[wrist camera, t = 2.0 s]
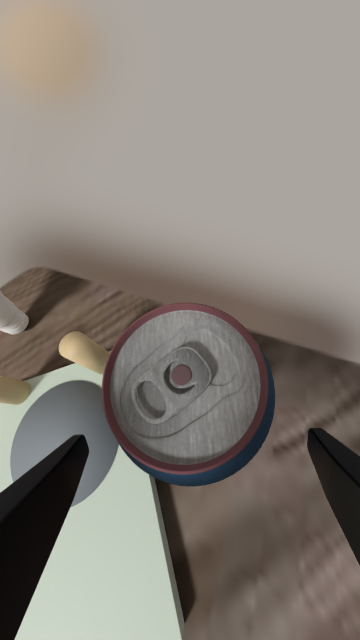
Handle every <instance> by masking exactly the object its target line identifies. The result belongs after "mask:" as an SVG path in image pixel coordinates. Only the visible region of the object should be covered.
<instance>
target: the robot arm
mask: <svg viewBox="0 0 360 640" xmlns="http://www.w3.org/2000/svg"><path fill="white" fill-rule="evenodd" d="M307 447H308V451H309V454H310V457H311V459H312V462H313V464H314V467H315V469H316V472H317V475H318V477H319V480H320V482H321V485H322V488H323V490H324V493H325V495H326V498H327V500H328V502H329V504H330V506H331V508H332V510H333V512H334V514H335V516H336V518H337V520H338V522H339V524H340V526H341V528H342V530H343V532H344V535H345V537H346V539H347V541H348V543H349V545H350V547H351V549H352V551H353V553H354V555H355V557H356V559H357V561H358V563H359V565H360V456H358V455H357V454H356V453H354V452H353V451H352V450H350V449H349V448H348V447H346V446H345V445H344V444H342V443H341V442H340V441H338V440H337V439H336V438H334V437H333V436H331V435H330V434H329V433H327V432H326V431H325V430H323V429H322V428H310V429H309V431H308V441H307ZM88 455H89V447H88V444H87V441H86V438H85V436H84V435H83V434H75V435H73V436H71V437H70V438H69V439H68V440H66V441H65V442H64V443H63V444H61V445H60V446H59V447H58V448H56V449H55V450H54V451H52V452H51V453H50V454H49V455H47V456H46V457H45V458H44V459H42V460H41V461H40V462H39V463H37V464H36V465H35V466H34V467H32V468H31V469H30V470H28V471H27V472H26V473H25V474H23V475H22V476H21V477H20V478H18V479H17V480H16V481H15V482H13V483H12V484H11V485H9V486H8V487H7V488H6V489H4V490H3V491H2V492H1V493H0V640H15V637H16V635H17V633H18V630H19V628H20V625H21V623H22V621H23V618H24V616H25V614H26V611H27V609H28V606H29V604H30V602H31V599H32V597H33V595H34V592H35V590H36V588H37V585H38V583H39V580H40V578H41V576H42V573H43V571H44V569H45V566H46V564H47V562H48V559H49V557H50V554H51V552H52V550H53V547H54V545H55V543H56V540H57V538H58V536H59V533H60V531H61V528H62V526H63V524H64V521H65V519H66V517H67V514H68V512H69V509H70V507H71V505H72V502H73V500H74V497H75V495H76V492H77V489H78V486H79V483H80V480H81V477H82V474H83V471H84V468H85V465H86V462H87V459H88Z"/></svg>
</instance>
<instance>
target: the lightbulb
mask: <svg viewBox="0 0 360 640" xmlns="http://www.w3.org/2000/svg"><path fill="white" fill-rule="evenodd" d="M28 323H29V318H28V316H27V315H26V314H24V313H23V312H21V311H20V310H19V309H17V308H16V306H15V305H14V304H13V303H12V302H11V301H10V300H8V299H7V298H6V297H5V296H4V295H3V294H2V293H1V291H0V330H1V331H4V332H7V333H9V334H18V333H20V332H22V331H23V330H24V329H25V328H26V327H27V325H28Z"/></svg>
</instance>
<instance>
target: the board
mask: <svg viewBox="0 0 360 640" xmlns="http://www.w3.org/2000/svg"><path fill="white" fill-rule="evenodd" d="M59 352H60V354H61V356H63V357H64V358H67V359H69V360H71V361H73V362H75V363H74V364H71V365H68V366H66V367H63V368H60V369H57V370H54V371H51V372H48V373H46V374H43V375H40V376H37V377H34V378H31V379H28V380H26V381H21V380H17V379H13V378H9V377H5V376H1V375H0V493H1V492H2V491H3V490H4V489H6V488H7V487H8V486H9V485H11V484H12V483H13V482H15V481H16V480H17V479H18V478H20V477H21V476H22V475H23V474H25V473H26V472H27V471H28V470H30V469H31V468H32V467H34V466H35V465H36V464H37V463H39V462H40V461H41V460H42V459H44V458H45V457H46V456H47V455H49V454H50V453H51V452H52V451H54V450H55V449H56V448H58V447H59V446H60V445H61V444H63V443H64V442H65V441H66V440H68V439H69V438H70V437H71V436H73V435H75V434H83V435H84V436H85V438H86V441H87V444H88V447H89V455H88V459H87V462H86V465H85V468H84V471H83V474H82V477H81V480H80V483H79V486H78V489H77V492H76V495H75V497H74V500H73V502H72V505H71V507H70V509H69V512H68V514H67V517H66V519H65V521H64V524H63V526H62V528H61V531H60V533H59V536H58V538H57V540H56V543H55V545H54V547H53V550H52V552H51V554H50V557H49V559H48V562H47V564H46V566H45V569H44V571H43V573H42V576H41V578H40V580H39V583H38V585H37V588H36V590H35V592H34V595H33V597H32V599H31V602H30V604H29V606H28V609H27V611H26V614H25V616H24V618H23V621H22V623H21V625H20V628H19V630H18V633H17V635H16V637H15V640H182V639H183V632H184V626H185V623H184V618H183V613H182V609H181V604H180V599H179V594H178V589H177V584H176V580H175V575H174V570H173V565H172V560H171V555H170V551H169V546H168V541H167V536H166V531H165V526H164V522H163V517H162V512H161V507H160V502H159V498H158V493H157V488H156V483H155V478H154V477H152V476H150V475H149V474H147V473H146V472H144V471H143V470H141V469H140V468H139V467H138V466H137V465H135V464H134V463H133V462H132V461H131V460H130V458H129V457H128V456H127V455H126V454H125V452H124V451H123V450H122V448H121V447H120V445H119V443H118V441H117V439H116V437H115V436H114V434H113V432H112V431H111V429H110V426H109V424H108V422H107V419H106V416H105V412H104V408H103V402H102V379H103V373H104V369H105V365H106V362H107V359H108V356H109V354H110V352H111V351H106V350H105V349H104V348H102V347H101V346H99V345H98V344H97V343H95V342H94V341H93V340H91V339H90V338H88V337H87V336H86V335H84V334H83V333H81V332H78V331H74V332H70V333H68V334H67V335H66V336H64V337H63V339H62V340H61V342H60V344H59Z"/></svg>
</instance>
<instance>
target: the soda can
mask: <svg viewBox="0 0 360 640" xmlns="http://www.w3.org/2000/svg"><path fill="white" fill-rule="evenodd" d="M102 402H103V408H104V412H105V416H106V419H107V422H108V424H109V426H110V429H111V431H112V432H113V434H114V436H115V437H116V439H117V441H118V443H119V445H120V447H121V448H122V450H123V451H124V452H125V454H126V455H127V456H128V457H129V458H130V460H131V461H132V462H133V463H134V464H135V465H137V466H138V467H139V468H140V469H141V470H143V471H144V472H146V473H147V474H149V475H150V476H152V477H154V478H156V479H158V480H161V481H164V482H166V483H170V484H174V485H180V486H202V485H207V484H212V483H215V482H218V481H221V480H223V479H225V478H227V477H229V476H231V475H233V474H234V473H236V472H237V471H239V470H240V469H241V468H243V467H244V466H245V465H246V464H247V463H248V462H249V461H250V460H251V459H252V458H253V457H254V456H255V455H256V453H257V452H258V450H259V449H260V448H261V446H262V444H263V443H264V441H265V439H266V437H267V435H268V432H269V429H270V427H271V423H272V420H273V415H274V408H275V388H274V381H273V377H272V373H271V370H270V367H269V364H268V362H267V360H266V357H265V355H264V354H263V352H262V350H261V349H260V347H259V346H258V344H257V343H256V341H255V340H254V338H253V337H252V336H251V334H250V333H249V332H248V331H247V330H246V328H245V327H244V326H243V325H241V324H240V323H239V322H238V321H237V320H236V319H234V318H233V317H231V316H230V315H228V314H226V313H225V312H223V311H221V310H218V309H216V308H214V307H210V306H207V305H203V304H196V303H175V304H169V305H165V306H162V307H158V308H156V309H154V310H152V311H150V312H148V313H146V314H144V315H143V316H141V317H140V318H138V319H137V320H136V321H134V322H133V323H132V324H131V325H130V326H129V327H128V328H127V329H126V330H125V331H124V332H123V333H122V335H121V336H120V337H119V338H118V340H117V341H116V343H115V345H114V346H113V348H112V350H111V352H110V354H109V356H108V359H107V362H106V365H105V369H104V373H103V379H102Z"/></svg>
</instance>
